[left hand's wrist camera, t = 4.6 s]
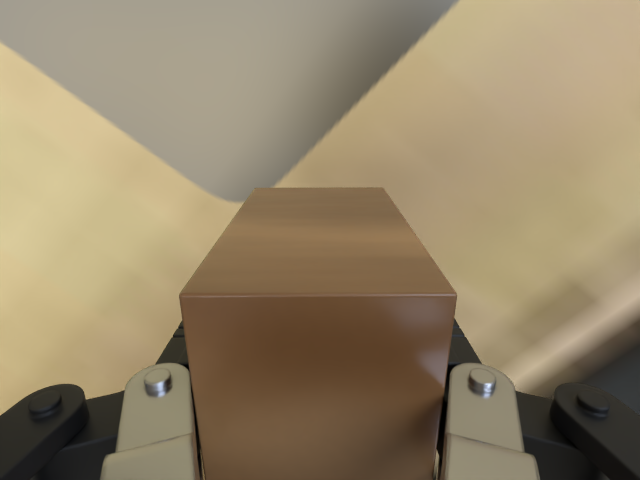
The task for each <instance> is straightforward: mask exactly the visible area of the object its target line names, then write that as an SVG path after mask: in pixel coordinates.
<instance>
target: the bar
mask: <svg viewBox="0 0 640 480" xmlns="http://www.w3.org/2000/svg"><path fill="white" fill-rule="evenodd" d="M179 299H180V306H181V313H182V320H183V327H184V334H185V341H186V348H187V355H188V362H189V370H190V377H191V384H192V391H193V398H194V405H195V412H196V419H197V426H198V433H199V441H200V448H201V455H202V462H203V469H204V476H205V480H433V472H434V465H435V457H436V450H437V442H438V435H439V427H440V420H441V412H442V405H443V397H444V390H445V382H446V375H447V367H448V360H449V352H450V345H451V337H452V330H453V322H454V315H455V307H456V300H457V294H456V292H455V290H454V289H453V288H452V286H451V285H450V283H449V282H448V280H447V279H446V277H445V276H444V275H443V273H442V272H441V270H440V269H439V267H438V266H437V265H436V263H435V262H434V260H433V259H432V257H431V256H430V254H429V253H428V252H427V250H426V249H425V247H424V246H423V244H422V243H421V241H420V240H419V239H418V237H417V236H416V234H415V233H414V231H413V230H412V228H411V227H410V226H409V224H408V223H407V221H406V220H405V218H404V217H403V215H402V214H401V213H400V211H399V210H398V208H397V207H396V205H395V204H394V203H393V201H392V200H391V198H390V197H389V195H388V194H387V192H386V191H385V190H384V188H255V189H254V190H253V191H252V193H251V194H250V196H249V197H248V198H247V200H246V201H245V203H244V204H243V205H242V207H241V208H240V210H239V211H238V212H237V214H236V215H235V217H234V218H233V219H232V221H231V222H230V224H229V225H228V226H227V228H226V229H225V231H224V232H223V234H222V235H221V236H220V238H219V239H218V241H217V242H216V243H215V245H214V246H213V248H212V249H211V250H210V252H209V253H208V255H207V256H206V257H205V259H204V260H203V262H202V263H201V264H200V266H199V267H198V269H197V270H196V271H195V273H194V274H193V276H192V277H191V279H190V280H189V281H188V283H187V284H186V286H185V287H184V288H183V290H182V291H181V293H180V295H179Z"/></svg>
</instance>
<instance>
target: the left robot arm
mask: <svg viewBox="0 0 640 480" xmlns="http://www.w3.org/2000/svg"><path fill="white" fill-rule="evenodd" d="M200 449H201V448H200V441H199V433H198V426H197V419H196V412H195V405H194V398H193V391H192V384H191V377H190V370H189V362H188V355H187V348H186V341H185V334H184V327H183V320H182V322H181V323H180V325H179V327H178V329H177V330H176V331H175V333H174V335H173V338H171V340H170V341H169V343H168V345H167V346H166V348H165V349H164V351H163V353H162V354H161V356H160V358H159V359H158V361H157V362H156V364H155V365H153V366H150V367H147V368H145V369H143V370H141V371H140V372H138V373H137V374H135V375H134V376H133V377H132V378H131V379H130V380H129V381H128V383H127V385H126V387H125V390H124V391H121V392H118V393H114V394H110V395H106V396H101V397H97V398H92V399H88V400H86V399H85V395H84V392H83V390H82V389H81V387H79V386H77V385H73V384H59V385H54V386H49V387H46V388H43V389H41V390H38V391H36V392H34V393H32V394H30V395H28V396H27V397H25V398H24V399H22V400H21V401H19V402H18V403H17V404H15V405H14V406H13V407H11V408H10V409H9V410H7V411H6V412H5V413H3V414H2V415H1V416H0V480H204V478H203V466H202V458H201V451H200ZM437 451H438V454H439V458H438V466H437V478H436V480H640V416H639V415H638V414H637V413H635V412H634V411H633V410H631V409H630V408H629V407H627V406H626V405H625V404H623V403H622V402H621V401H619V400H618V399H617V398H615V397H614V396H612V395H610V394H609V393H607V392H605V391H603V390H601V389H598V388H596V387H593V386H590V385H586V384H581V383H565V384H561V385H560V386H558V387H557V388H556V389H555V392H554V396H553V400H552V399H548V398H543V397H539V396H534V395H530V394H525V393H521V392H518V391H515V387H514V385H513V383H512V381H511V380H510V379H509V378H508V377H507V376H506V375H505V374H503V373H502V372H500V371H499V370H497V369H495V368H493V367H490V366H487V365H484V364H482V363H481V362H480V360H479V358H478V357H477V355H476V353H475V352H474V350H473V348H472V347H471V345H470V343H469V342H468V340H467V338H466V337H464V333H463V332H462V330H461V328H459V325H458V323H457V322H456V320H455V318H454V322H453V330H452V337H451V345H450V352H449V360H448V367H447V375H446V382H445V390H444V397H443V405H442V412H441V420H440V427H439V435H438V442H437Z"/></svg>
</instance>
